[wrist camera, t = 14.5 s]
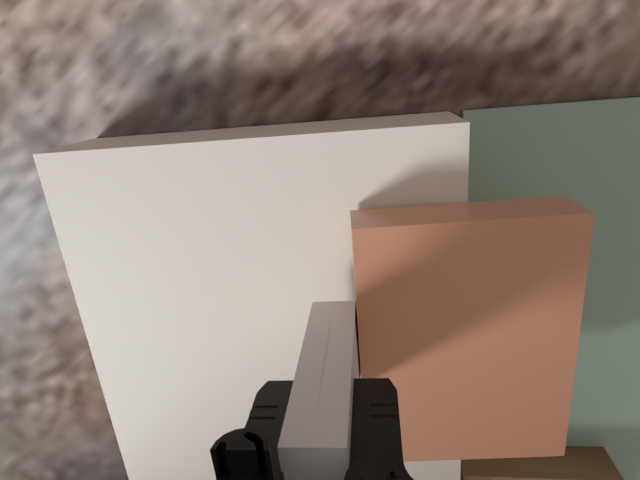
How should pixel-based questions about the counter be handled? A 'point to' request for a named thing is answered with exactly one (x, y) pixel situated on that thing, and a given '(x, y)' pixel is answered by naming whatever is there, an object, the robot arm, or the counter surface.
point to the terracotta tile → (474, 321)
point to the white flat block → (226, 261)
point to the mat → (606, 244)
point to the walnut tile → (545, 467)
